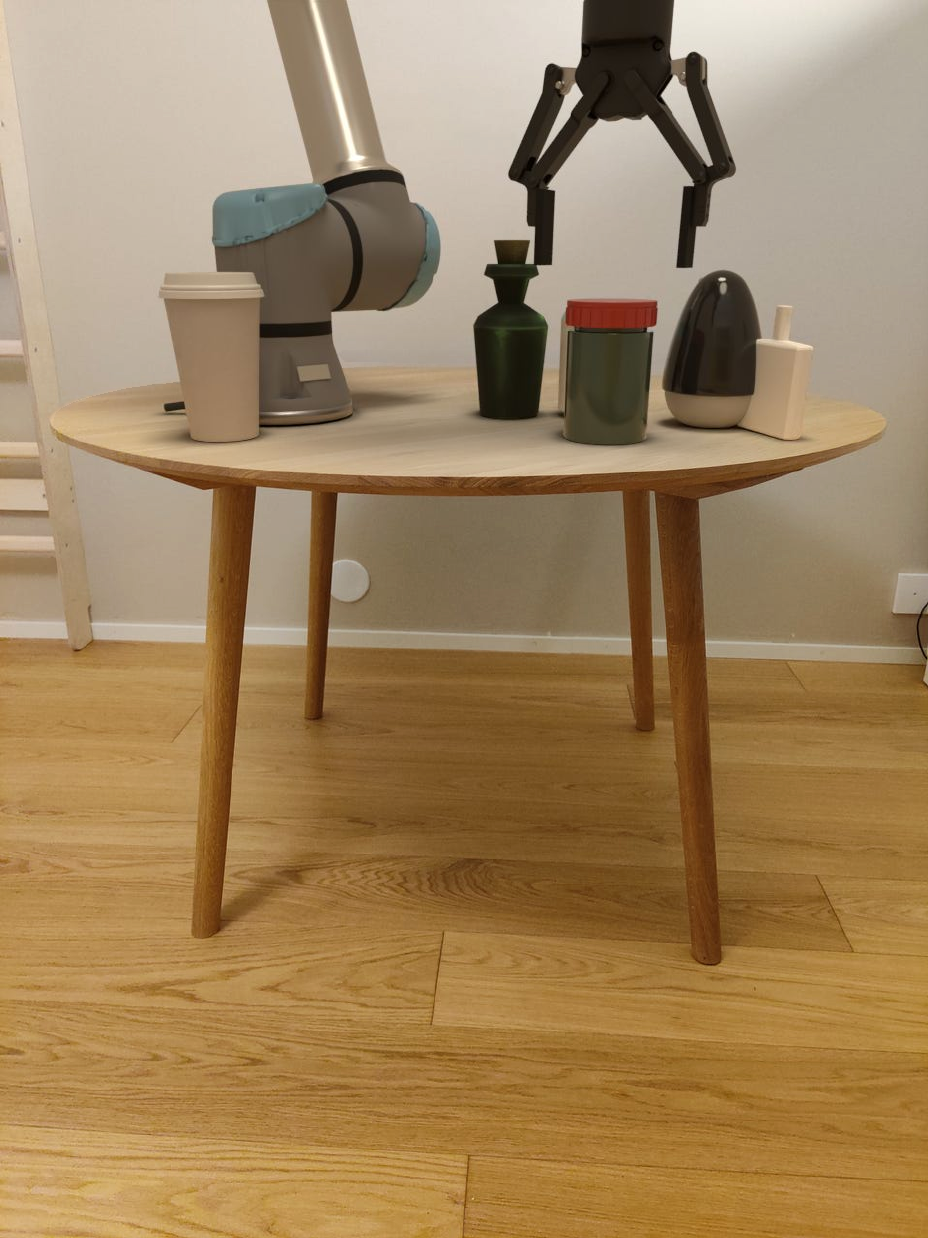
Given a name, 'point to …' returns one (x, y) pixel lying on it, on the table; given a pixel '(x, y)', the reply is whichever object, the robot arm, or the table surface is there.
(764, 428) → the perfume bottle
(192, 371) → the coffee cup
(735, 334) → the black and white egg
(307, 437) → the table surface
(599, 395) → the jar
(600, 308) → the lid
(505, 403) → the potion bottle
